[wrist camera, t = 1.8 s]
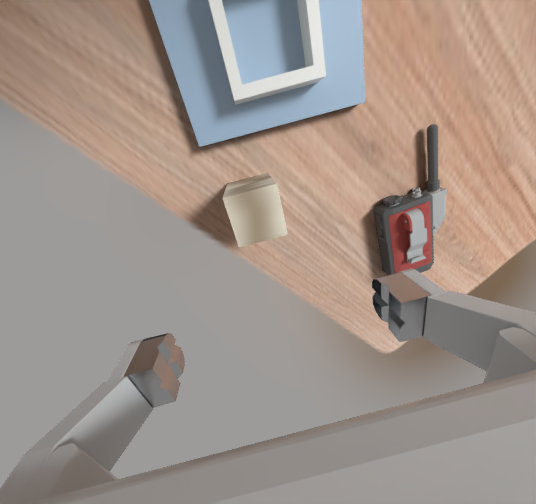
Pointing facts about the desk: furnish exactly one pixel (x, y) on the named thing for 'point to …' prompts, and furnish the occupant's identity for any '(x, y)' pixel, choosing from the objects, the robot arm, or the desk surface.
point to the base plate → (262, 61)
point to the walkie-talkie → (412, 220)
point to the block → (255, 209)
